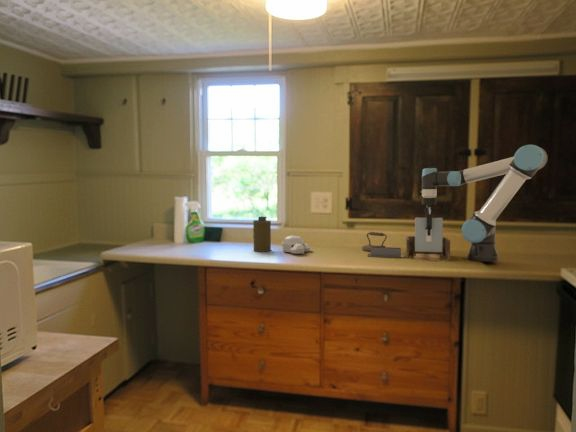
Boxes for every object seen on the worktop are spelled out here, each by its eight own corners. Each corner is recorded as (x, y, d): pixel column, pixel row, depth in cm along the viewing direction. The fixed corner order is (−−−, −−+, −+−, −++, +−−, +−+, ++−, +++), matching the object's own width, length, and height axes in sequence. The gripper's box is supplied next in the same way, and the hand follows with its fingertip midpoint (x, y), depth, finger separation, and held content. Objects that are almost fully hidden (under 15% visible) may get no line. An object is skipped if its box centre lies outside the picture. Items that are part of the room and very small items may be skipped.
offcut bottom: (441, 261, 245) (441, 258, 245) (442, 262, 240) (442, 260, 240) (414, 260, 248) (414, 257, 248) (414, 261, 243) (414, 259, 243)
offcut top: (439, 256, 244) (439, 254, 244) (439, 258, 240) (439, 255, 240) (415, 255, 248) (415, 253, 248) (415, 256, 244) (415, 254, 244)
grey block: (403, 255, 256) (403, 247, 256) (403, 258, 248) (403, 249, 248) (368, 254, 260) (368, 246, 260) (367, 256, 252) (367, 248, 252)
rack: (446, 255, 258) (447, 237, 258) (449, 259, 244) (450, 240, 243) (405, 253, 263) (406, 236, 263) (406, 257, 249) (407, 239, 248)
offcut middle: (439, 258, 245) (439, 256, 245) (439, 260, 241) (440, 257, 240) (413, 257, 248) (413, 255, 248) (414, 259, 244) (414, 256, 243)
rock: (313, 250, 277) (313, 234, 277) (306, 255, 258) (306, 238, 257) (284, 249, 282) (284, 233, 281) (274, 253, 263) (274, 236, 262)
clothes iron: (386, 249, 274) (387, 232, 268) (386, 258, 266) (387, 241, 260) (362, 247, 277) (363, 230, 271) (361, 256, 268) (362, 239, 263)
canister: (274, 250, 276) (274, 216, 275) (264, 252, 268) (264, 217, 266) (259, 248, 282) (259, 215, 281) (249, 250, 273) (249, 216, 272)
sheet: (441, 251, 248) (442, 217, 247) (442, 252, 246) (442, 218, 245) (414, 250, 251) (415, 217, 250) (414, 251, 249) (415, 218, 248)
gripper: (420, 196, 255) (420, 239, 257) (422, 197, 240) (422, 242, 242) (435, 196, 254) (434, 239, 255) (437, 197, 238) (437, 243, 240)
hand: (428, 241), depth 248 cm, fingers closed on sheet, 2 cm apart
